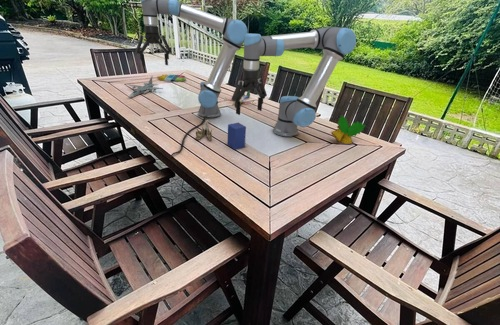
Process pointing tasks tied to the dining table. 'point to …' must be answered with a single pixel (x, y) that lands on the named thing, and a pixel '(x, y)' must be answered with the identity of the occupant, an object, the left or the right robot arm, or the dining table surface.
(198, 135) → the jawbone
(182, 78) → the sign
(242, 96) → the toy
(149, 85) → the airplane
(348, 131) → the ornament
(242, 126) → the brick
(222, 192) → the dining table surface
